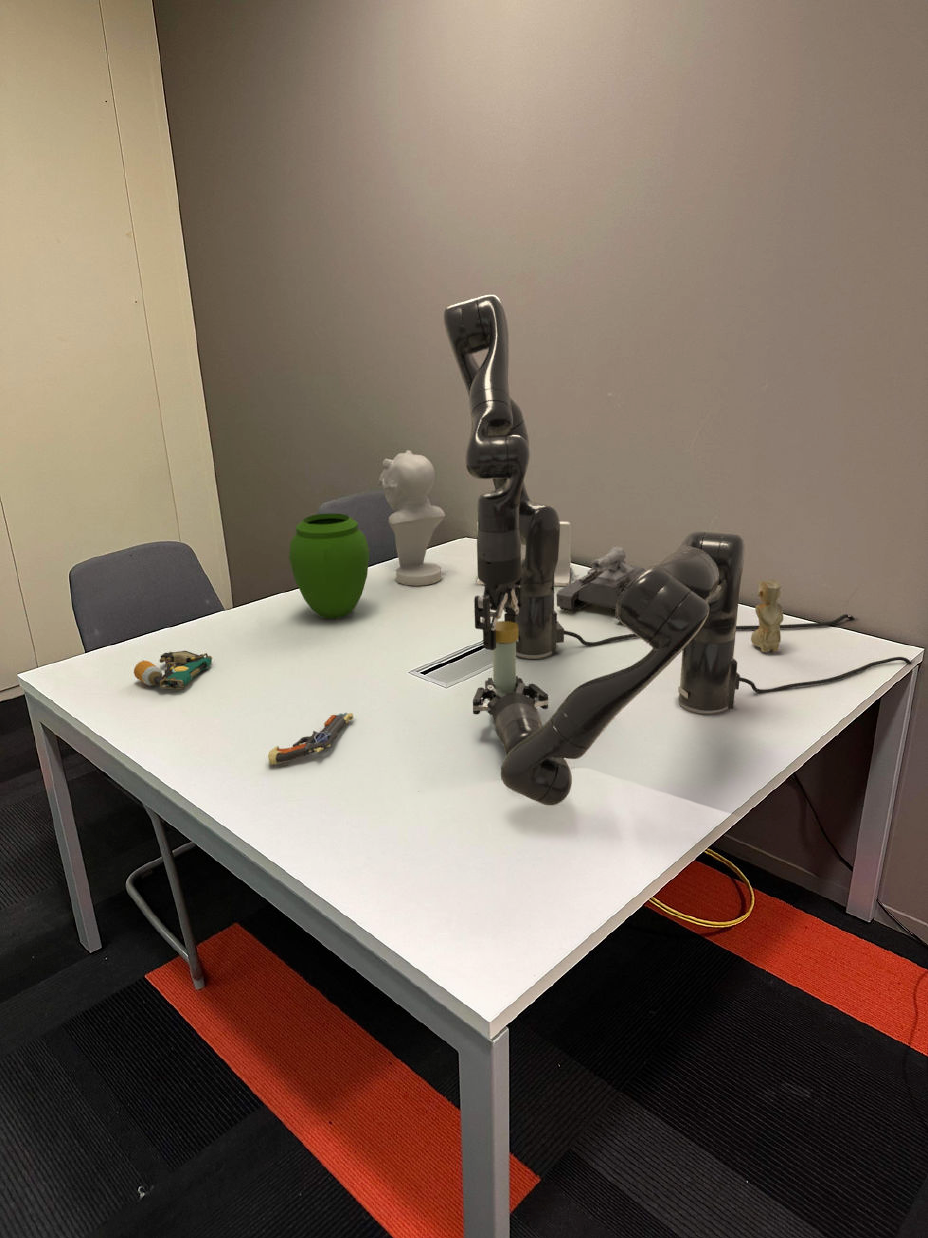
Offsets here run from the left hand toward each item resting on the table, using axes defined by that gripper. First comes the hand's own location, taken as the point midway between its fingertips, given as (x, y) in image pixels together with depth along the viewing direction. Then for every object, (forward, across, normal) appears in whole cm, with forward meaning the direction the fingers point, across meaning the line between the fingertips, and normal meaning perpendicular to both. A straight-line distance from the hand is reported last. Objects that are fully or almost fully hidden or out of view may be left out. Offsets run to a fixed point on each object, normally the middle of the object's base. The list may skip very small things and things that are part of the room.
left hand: (500, 640), depth 153 cm
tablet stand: (+16, -80, -35) cm, 89 cm away
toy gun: (+16, +23, -26) cm, 38 cm away
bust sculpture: (+16, -64, -64) cm, 92 cm away
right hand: (+9, -2, -1) cm, 10 cm away
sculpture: (+16, -55, +35) cm, 68 cm away
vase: (+16, -31, -64) cm, 73 cm away
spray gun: (+16, +14, -70) cm, 73 cm away
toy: (+16, -68, -4) cm, 70 cm away
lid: (-3, 0, +1) cm, 3 cm away
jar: (+16, 0, +1) cm, 16 cm away
